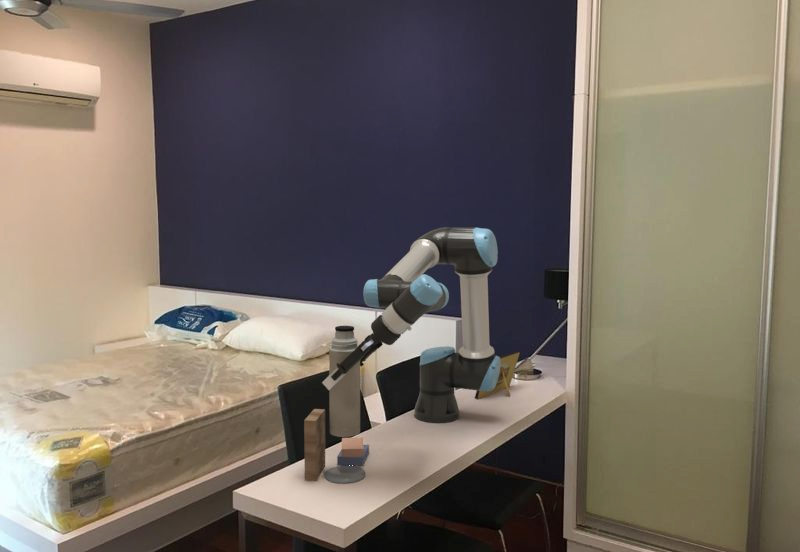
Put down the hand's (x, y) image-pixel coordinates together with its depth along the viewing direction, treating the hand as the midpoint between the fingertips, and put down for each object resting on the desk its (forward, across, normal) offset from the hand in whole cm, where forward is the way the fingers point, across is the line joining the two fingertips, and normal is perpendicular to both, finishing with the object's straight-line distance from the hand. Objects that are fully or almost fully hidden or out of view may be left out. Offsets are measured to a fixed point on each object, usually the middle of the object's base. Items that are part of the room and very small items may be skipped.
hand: (332, 381), depth 179 cm
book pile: (+17, +11, -18) cm, 27 cm away
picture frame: (-3, +90, -39) cm, 98 cm away
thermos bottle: (+7, 0, -12) cm, 14 cm away
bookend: (+21, -1, -14) cm, 25 cm away
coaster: (+15, 0, -20) cm, 25 cm away
